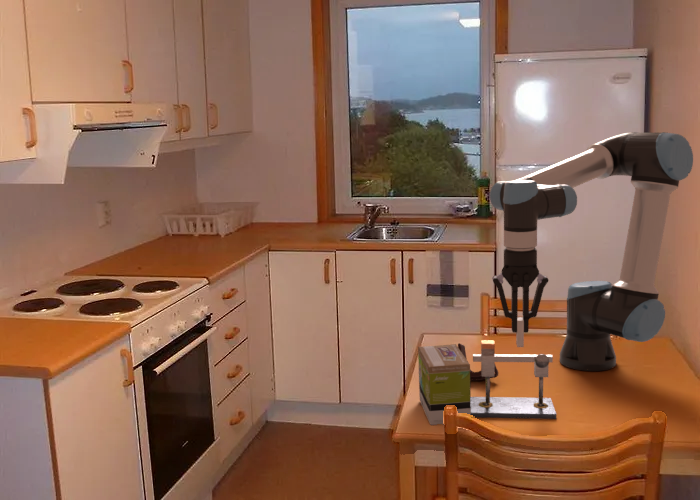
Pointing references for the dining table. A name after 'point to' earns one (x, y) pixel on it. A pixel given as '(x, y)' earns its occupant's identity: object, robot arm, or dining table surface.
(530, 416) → the board
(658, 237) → the robot arm
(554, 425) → the dining table surface
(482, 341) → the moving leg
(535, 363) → the beam
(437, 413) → the tea box
